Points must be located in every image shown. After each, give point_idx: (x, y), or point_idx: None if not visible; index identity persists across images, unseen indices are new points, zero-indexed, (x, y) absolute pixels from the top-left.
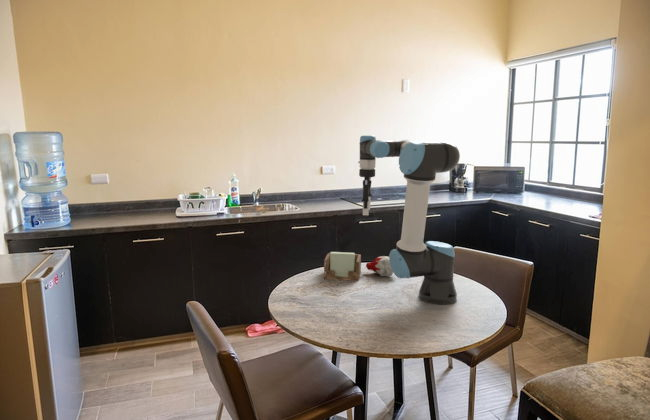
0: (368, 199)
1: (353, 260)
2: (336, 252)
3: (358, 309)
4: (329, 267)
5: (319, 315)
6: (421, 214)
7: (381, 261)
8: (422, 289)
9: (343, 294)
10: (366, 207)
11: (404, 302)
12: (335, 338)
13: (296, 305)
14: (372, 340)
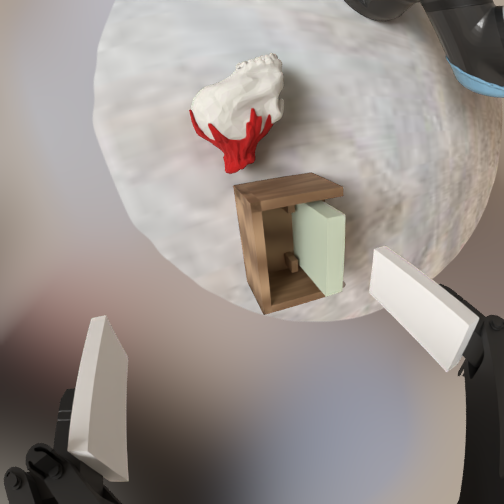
0: (103, 430)
1: (332, 208)
2: (331, 278)
3: (443, 147)
4: (271, 278)
5: (457, 205)
6: None
7: (278, 109)
8: (400, 13)
9: (395, 188)
10: (449, 292)
11: (408, 57)
12: (491, 169)
13: (431, 252)
14: (492, 124)
